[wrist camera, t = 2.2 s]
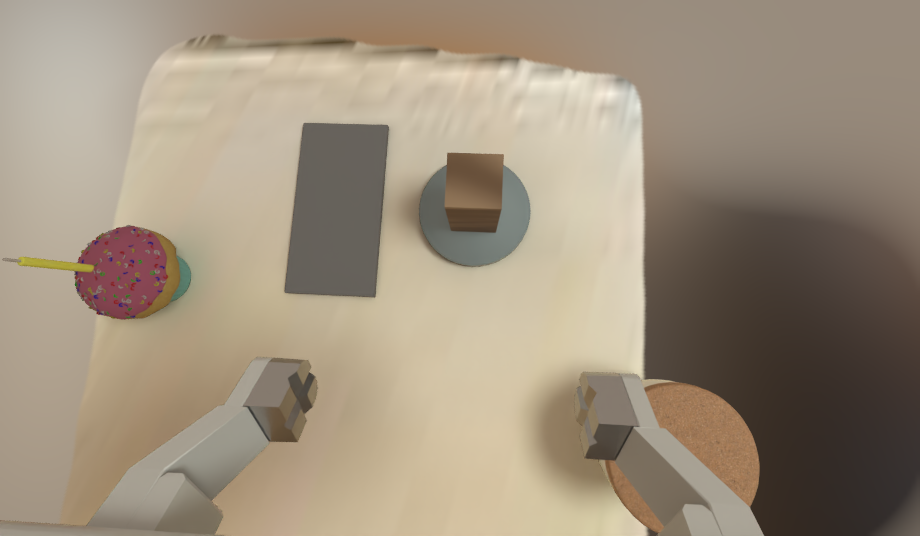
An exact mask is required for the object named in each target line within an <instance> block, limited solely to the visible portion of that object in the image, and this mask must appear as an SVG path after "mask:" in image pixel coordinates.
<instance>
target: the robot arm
mask: <svg viewBox="0 0 920 536" xmlns="http://www.w3.org/2000/svg"><path fill="white" fill-rule="evenodd" d="M310 369H311V365H310V363H309V361H308V360H298V359H283V358H268V357H256V358H255V359H254V360H253V361H252V362H251V363H250V365H249V366H248V368H247V369H246V371H245V373H244V374H243V376H242V377H241V379H240V380H239V382H238V384H237V385H236V387H235V388H234V390H233V391H232V393H231V395H230V396H229V398H228V399H227V401H226V403H225V404H224V405H219V406H217V407H216V408H214V409H213V410H211V411H210V412H209V413H207V414H206V415H204V416H203V417H201V418H200V419H199V420H197V421H196V422H194V423H193V424H191V425H190V426H189V427H187V428H186V429H184V430H183V431H182V432H180V433H179V434H177V435H176V436H174V437H173V438H172V439H170V440H169V441H167V442H166V443H164V444H163V445H162V446H160V447H159V448H157V449H156V450H154V451H153V452H152V453H150V454H149V455H147V456H146V457H145V458H143V459H142V460H140V461H139V462H137V463H136V464H135V465H133V466H132V467H130V468H129V469H128V471H127V472H126V473H125V475H124V476H123V477H122V479H121V480H120V481H119V483H118V484H117V485H116V487H115V488H114V489H113V491H112V492H111V493H110V495H109V496H108V497H107V499H106V500H105V501H104V503H103V504H102V505H101V507H100V508H99V509H98V511H97V512H96V513H95V515H94V516H93V517H92V519H91V520H90V522H89V523H88V524H87V526H78V525H64V524H49V523H34V522H18V521H4V520H0V536H224V535H215V533H216V531H217V529H218V527H219V524H220V522H221V520H222V518H223V514H222V511H221V510H220V509H219V508H218V507H217V506H216V505H215V504H214V503H213V502H212V500H213V499H214V498H215V497H216V496H217V495H218V494H219V493H220V492H221V491H222V490H223V489H224V488H225V487H226V486H227V485H228V484H229V483H230V482H231V481H232V480H233V479H234V478H235V477H236V476H237V475H238V474H239V473H240V472H241V471H242V470H243V469H244V468H245V467H246V466H247V465H248V464H249V463H250V462H251V461H252V460H253V459H254V458H255V457H256V456H257V455H258V454H259V453H260V452H261V451H262V450H263V449H264V448H265V447H266V446H267V445H268V444H269V441H271V442H298V440H299V438H300V436H301V433H302V431H303V429H304V426H305V424H306V421H307V420H306V417H305V413H306V412H307V411H308V410H309V409H311V408H312V407H313V404H314V402H315V399H316V395H317V389H318V387H317V380H316V377H315V376H314V375H313V374H311V373H310V372H309V371H310ZM579 380H580V384H581V386H580V387H578V388H577V389H576V392H575V396H574V408H575V415H576V420H577V422H578V423H579V424H580V425H581V426H582V430H581V433H580V440H581V444H582V449H583V454H584V458H587V459H599V460H611V461H615V463H616V465H617V466H618V467H619V469H620V470H621V471H622V472H623V474H624V475H625V476H626V478H627V479H628V480H629V482H630V483H631V484H632V486H633V487H634V488H635V489H636V491H637V492H638V493H639V495H640V496H641V497H642V499H643V500H644V501H645V503H646V504H647V505H648V506H649V508H650V509H651V510H652V512H653V513H654V514H655V516H656V517H657V518H658V520H659V521H660V522H661V523H662V525H663V526H664V528H663V529H662V530H661V532H660V533H659V534H658V535H657V536H764V535H763V533H762V531H761V529H760V527H759V525H758V523H757V521H756V519H755V517H754V515H753V513H752V511H751V509H750V507H749V506H748V505H747V504H746V503H745V502H744V501H743V500H741V499H740V498H739V497H738V496H737V495H736V494H735V493H734V492H733V491H732V490H731V489H730V488H729V487H728V486H726V485H725V484H724V483H723V482H722V481H721V480H720V479H719V478H718V477H717V476H716V475H715V474H714V473H713V472H711V471H710V470H709V469H708V468H707V467H706V466H705V465H704V464H703V463H702V462H701V461H700V460H699V459H698V458H696V457H695V456H694V455H693V454H692V453H691V452H690V451H689V450H688V449H687V448H686V447H685V446H684V445H683V444H681V443H680V442H679V441H678V440H677V439H676V438H675V437H674V436H673V435H672V434H671V433H670V432H669V431H668V430H666V429H665V428H660V427H659V425H658V422H657V420H656V417H655V415H654V412H653V410H652V407H651V405H650V402H649V400H648V397H647V395H646V392H645V390H644V387H643V385H642V382H641V380H640V377H639V376H638V375H637V374H618V373H604V372H583V373H582V374H581V376H580V379H579Z"/></svg>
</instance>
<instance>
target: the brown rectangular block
mask: <svg viewBox="0 0 920 536" xmlns="http://www.w3.org/2000/svg"><path fill="white" fill-rule="evenodd" d="M503 159H504V154H471V153H448V154H447V171H446V189H445V206H444V207H445V211H446V214H447V218H448V222H449V225H450V229H451V231H462V232H487V233H496V230H497V226H498V222H499V218H500V214H501V210H502V187H503Z"/></svg>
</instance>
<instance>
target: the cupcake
mask: <svg viewBox="0 0 920 536" xmlns="http://www.w3.org/2000/svg"><path fill="white" fill-rule="evenodd" d="M98 237H99V238H98ZM98 237H97V238H96V240H93V241H92V243H88V247H87V248H86V249H85V250H82V252H81V253H82V255H81V257H79V259H78V260H79V261H78V263H71V262H63V261H54V260H46V259H37V258H29V257H20V258H19V259H9V258H3V261H11V262H17V263H18V265H20V266H31V267H40V268H50V269H61V270H70V271H75V275H76V276H75V279H76V280H75V282H76V283H75V286H76V289H77V293H78V294H79V296H80V297H81V299H83V300H84V301H85V303H86V304H87V305H89V306H90V307H89V308H90V309H93V310H95V311H97V314H98V313H99V314H98V315H104V316H109V317H111V318H117V319H134V318H145V317H147V316H149V315H151V314H153V313H155V312H156V311H158V310H160V309H162V308H164V307H165V306H166V305H168V304H169V302H170V301H174V300H176V299H178V298H179V297H181V296H182V295H183V294H184V293H185V292H186V290H187V289H188V287H189V284H190V280H191V273H190V269H189V267H188V265H187V263H186V262H185V261H184V260H183V259H181V258H180V257H178V256H176V248H175V246H174V245H173V244H172V243H171V241H170V240H168V239H167V238H166V237H164V236H162V235H161V234H159V233H156V232H153V231H150V230H147V229H144V228H138V227H135V226H130V225H127V226H126V227H121V228H116V229H114V230H111V231H108V232H106V233H105V234H104V233H102V234H101V235H99V236H98Z"/></svg>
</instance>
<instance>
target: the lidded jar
mask: <svg viewBox="0 0 920 536" xmlns="http://www.w3.org/2000/svg"><path fill="white" fill-rule="evenodd" d="M641 382H642V385H643V387H644V390H645V392H646V395H647V397H648V400H649V402H650V405H651V407H652V410H653V412H654V415H655V417H656V420H657V422H658V425H659V427H660V428H665V429H666V430H668V431H669V432H670V433H671V434H672V435H673V436H674V437H675V438H676V439H677V440H678V441H679V442H680V443H681V444H683V445H684V446H685V447H686V448H687V449H688V450H689V451H690V452H691V453H692V454H693V455H694V456H695V457H696V458H698V459H699V460H700V461H701V462H702V463H703V464H704V465H705V466H706V467H707V468H708V469H709V470H710V471H711V472H713V473H714V474H715V475H716V476H717V477H718V478H719V479H720V480H721V481H722V482H723V483H724V484H725V485H726V486H728V487H729V488H730V489H731V490H732V491H733V492H734V493H735V494H736V495H737V496H738V497H739V498H740V499H741V500H743V501H744V502H745V503H746V504H747V505H748V506H749V507H750V506H751V503H752V501H753V499H754V497H755V494H756V490H757V486H758V481H759V458H758V453H757V449H756V445H755V442H754V439H753V437H752V435H751V432H750V431H749V429H748V427H747V425H746V423H745V422H744V421H743V419H742V418H741V416H740V415H739V414H738V413H737V412H736V411H735V410H734V409H733V408H732V406H730V405H729V404H728V403H727V402H725V401H724V400H723V399H722V398H720V397H719V396H717V395H715V394H713V393H711V392H710V391H708V390H705V389H702V388H700V387H697V386H694V385H689V384H684V383H678V382H673V381H668V380H655V379H654V380H653V379H650V380H641ZM598 460H599V459H598ZM599 463H600V465H601V467H602V470H603V472H604V474H605V476H606V478H607V480H608V481H609V483H610V484H611V486H612V487H613V489H614V491H615V493H616V494H617V496H618V497H619V499H620V500H621V502H622V503H623V504H624V506H625V507H626V508H627V509H628V510H629V511H630V513H631V514H632V515H633V516H634V517H635V518H636V519H637V520H639V521H640V522H641V523H642V524H643V525H645V526H646V527H648V528H650V529H651V530H653V531H655V532H657V533H660V532H661V530H662V529H663V528H664V526H663V525H662V523H661V522H660V521H659V520H658V518H657V517H656V516H655V514H654V513H653V512H652V510H651V509H650V508H649V506H648V505H647V504H646V503H645V501H644V500H643V499H642V497H641V496H640V495H639V493H638V492H637V491H636V489H635V488H634V487H633V486H632V484H631V483H630V482H629V480H628V479H627V478H626V476H625V475H624V474H623V472H622V471H621V470H620V469H619V467H618V466H617V465H616V463H615V461H611V460H599Z"/></svg>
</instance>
